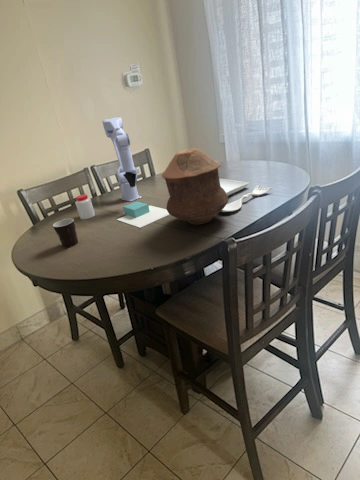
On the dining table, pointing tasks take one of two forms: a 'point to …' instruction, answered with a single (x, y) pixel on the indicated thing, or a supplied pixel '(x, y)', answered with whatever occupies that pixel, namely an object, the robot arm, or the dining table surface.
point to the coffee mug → (66, 232)
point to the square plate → (232, 185)
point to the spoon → (238, 203)
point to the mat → (145, 217)
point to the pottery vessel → (194, 187)
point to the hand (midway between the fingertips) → (133, 186)
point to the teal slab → (136, 209)
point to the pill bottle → (84, 207)
